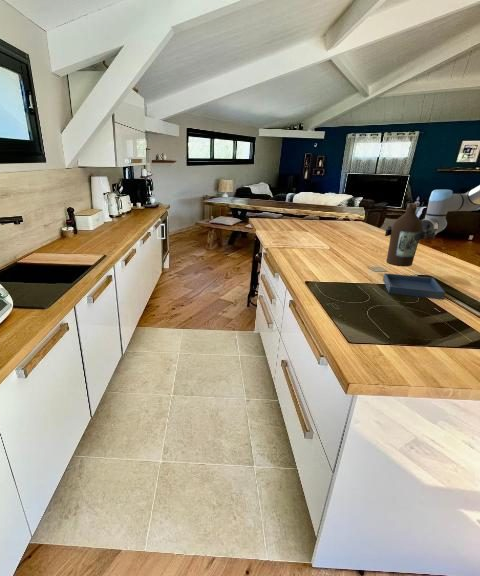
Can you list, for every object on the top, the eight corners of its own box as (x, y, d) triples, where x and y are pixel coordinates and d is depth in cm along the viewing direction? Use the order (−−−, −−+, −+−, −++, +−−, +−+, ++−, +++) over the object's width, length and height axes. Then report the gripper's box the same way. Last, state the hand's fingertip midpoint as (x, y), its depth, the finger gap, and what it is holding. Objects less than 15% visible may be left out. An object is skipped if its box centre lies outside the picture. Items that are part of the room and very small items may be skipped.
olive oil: (381, 259, 140) (392, 202, 131) (407, 260, 138) (421, 202, 129) (389, 266, 131) (402, 205, 121) (418, 267, 128) (433, 205, 119)
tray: (431, 284, 129) (433, 277, 128) (443, 299, 115) (445, 292, 114) (383, 279, 136) (384, 273, 135) (388, 293, 122) (390, 286, 121)
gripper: (453, 240, 131) (431, 249, 120) (394, 232, 149) (370, 239, 137) (458, 222, 129) (436, 230, 117) (398, 216, 146) (373, 222, 135)
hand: (401, 235), depth 127 cm, fingers closed on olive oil, 11 cm apart
